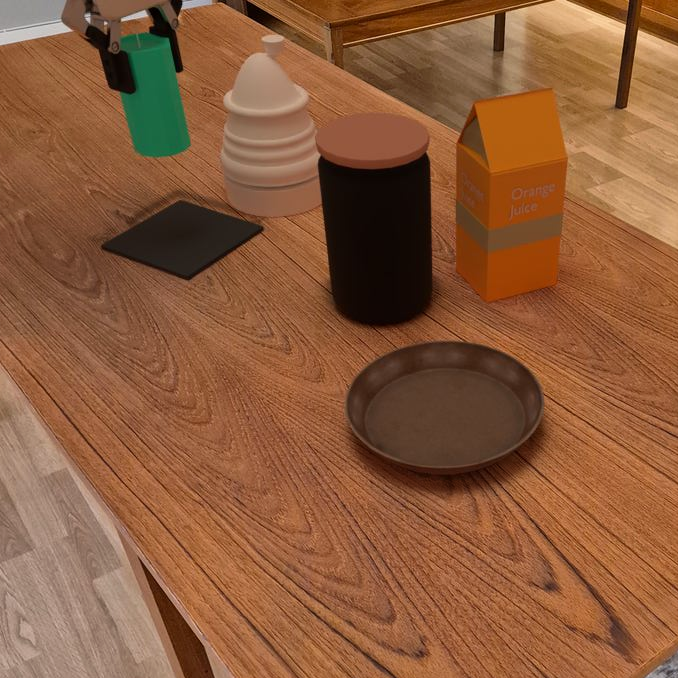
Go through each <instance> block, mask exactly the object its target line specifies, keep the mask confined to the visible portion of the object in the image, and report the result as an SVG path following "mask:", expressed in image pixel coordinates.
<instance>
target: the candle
mask: <svg viewBox="0 0 678 678" xmlns="http://www.w3.org/2000/svg"><path fill="white" fill-rule="evenodd" d="M133 28H134V31H135V33H131V34H127V35H124V36H121V46H120V50H123V51H126V53H127V54H128V58H129V62H130V66H131V70H132V75H133V79H134V83H135V87H136V91H135V93H133V94H131V95H130V94H126V93H123V92H119V96H120V99H121V103H122V106H123V110H124V114H125V119H126V123H127V126H128V127H127V128H128V130H129V134H130V138H131V142H132V145H133V149H134V152H136V153H137V154H139V155H141V157H147V158H148V157H149V158H154V159H155V158H165V157H166V158H167V157H173V156H176V155H179V154H182V153H184V152H186V151H187V150H189V148H190V147H192V141H191V137H190V133H189V127H188V122H187V118H186V113H185V109H184V103H183V99H182V95H181V90H180V84H179V81H178V76H177V75H178V74H177V73H176V71H175V66H174V61H173V56H172V52H171V47H170V42H169V38H164V37H159V36H156V35H153V34H150V33H149V32H148V31H145V32H138V30H137V26H136V25H134V26H133Z"/></svg>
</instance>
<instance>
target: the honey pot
mask: <svg viewBox="0 0 678 678" xmlns="http://www.w3.org/2000/svg"><path fill="white" fill-rule="evenodd" d="M261 43H262V47H263V49H264V50H265V52H255V53H252V54H251V55H250V56H248V57H247V58H246V59H245V61H244V62H243V63H242V64H241V67H240V69H239V70H238V73H237V75H236V78H235V81H234V84H233V87H232V89H230V90H229V91H227V92H226V94H224V96H223V99H222V105H223V107H224V109H225V110H226V111H227V115H226V116H227V117H226V122H225V123H224V125H223V136H222V147H221V149H220V152H219V153H220V155H219V156H220V157H219V163H220V165H221V170H222V178H223V184H224V189H225V195H226V199H227V201H228V203H229V204H230V206H231V207H233V208H234V209H235V210H237V211H239V212H241V213H244V214H247V215H252V216H256V217H264V218H265V217H267V218H278V217H279V218H280V217H290V216H294V215H300V214H303V213H306V212H309V211H312V210H314V209H316V208H317V207H319V206H322V200H321V191H320V182H319V173H318V160H319V158H320V156H321V154H320V153H318V150H317V146H316V141H315V135H316V133H317V131H318V129H316V126H315V120H314V119H313V118H312V116H311V115H310V113H309V111H308V109H307V106H308V104H309V103H310V95H309V93H308V91H307V90H306V88H303V87H302V86H300V85H298V84H295V83H293V81H292V80H291V78H290V77H289V75H288V74H287V73H286V71H285V69H283V67H282V66H281V65H280V64H279V63H278V61H276V60H275V58H278V57H280V56H281V55H282V53H283V52H284V49H285V44H286V39H285V36H284V35H280V34H268V35H264V36H263V37H261Z"/></svg>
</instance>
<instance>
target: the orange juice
mask: <svg viewBox="0 0 678 678" xmlns="http://www.w3.org/2000/svg"><path fill="white" fill-rule="evenodd" d="M559 117H560V116H559V113H558V107H557V103H556V98H555V94H554V90H553V87H547V88H542V89H541V88H540V89H536V90H530V91H525V92H524V91H523V92H519V93H513V94H508V95H501V96H497V97H491V98H485V99H484V98H483V99H480V100H475V101H474V102H473V104H472V106H471V108H470V111H469V113H468V116H467V117H466V120H465V123H464V125H463V128H462V130H461V132H460V133H459V137H458V138H457V141H456V145H455V149H456V150H455V152H456V154H455V159H456V160H455V162H456V163H455V192H456V193H455V194H456V195H455V271H457V273H458V274H459V275H460V276H461V277H462V278H463V279H464V280H465V281H466V283H467V284H469V286H470V287H471V288H472V289H473V290H474V291H475V293H477V295H478V296H479V297H480V298H481V299H482V300H483V302H485V303H486V304H488V303H493V302H496V301H500V300H503V299H508V298H511V297H515V296H518V295H523V294H526V293H529V292H534V291H537V290H540V289H546V288H548V287H552V286H556V285H557V280H558V268H559V258H560V247H561V237H562V233H563V222H564V221H563V220H564V205H565V204H564V203H565V193H566V184H567V183H566V182H567V174H568V173H567V172H568V161H569V156H567V154H568V153H567V150H566V144H565V140H564V135H563V131H562V127H561V121H560V118H559Z"/></svg>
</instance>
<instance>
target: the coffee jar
mask: <svg viewBox="0 0 678 678" xmlns="http://www.w3.org/2000/svg"><path fill="white" fill-rule="evenodd" d="M315 141H316V146H317V150H318V153H320V154H321V156H320V158H319V160H318V173H319V182H320V191H321V200H322V204H321V207H322V217H323V227H324V235H325V243H326V253H327V261H328V270H329V279H330V289H331V296H332V300H333V302H334V303H335V305H336V306H337V307H338V308H339V309H340V311H341V312H342V313H343V314H344V315H345V316H346V317H348V318H350V319H351V320H353V321H355V322H357V323H360V324H365V325H369V326H384V327H385V326H391V325H398V324H402V323H405V322H407V321H410V320H412V319H414V318H415V317H418V316H419V314H421V313H422V312H423V310H424V309H425V308H426V306H427V305H428V303H430V301H431V299H432V294H433V291H434V285H433V284H434V283H433V282H434V281H433V280H434V279H433V275H434V274H433V237H432V236H433V232H432V231H433V230H432V229H433V228H432V227H433V225H432V224H433V223H432V180H431V179H432V177H431V176H432V175H431V173H432V172H431V160H430V158H429V155H428V153H427V151H428V149H429V145H430V133H429V131H428V129H427V127H426V126H424V125H423V124H422V123H421V122H419V121H418V120H416V119H413V118H411V117H409V116H405V115H400V114H394V113H390V112H373V111H372V112H363V113H362V112H359V113H353V114H348V115H343V116H339V117H336V118H334V119H332V120H330V121H327V122H325V123H324V124H323V125H322V126H320V127H319V128H318V129H317V133H316V135H315Z"/></svg>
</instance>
